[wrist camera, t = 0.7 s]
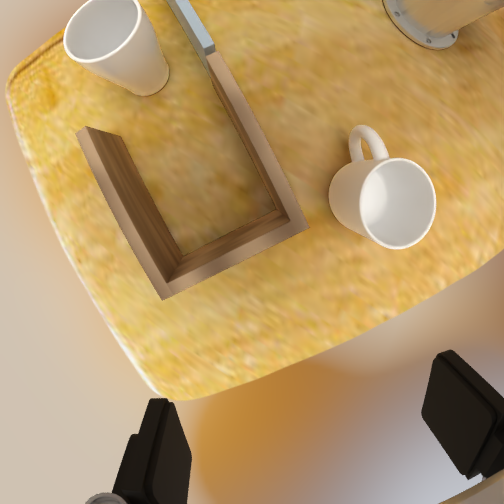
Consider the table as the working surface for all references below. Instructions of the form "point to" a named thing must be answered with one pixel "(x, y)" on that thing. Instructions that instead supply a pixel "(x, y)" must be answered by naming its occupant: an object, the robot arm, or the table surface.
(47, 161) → the table surface
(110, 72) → the drinking glass
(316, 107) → the table surface
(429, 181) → the mug
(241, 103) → the u-shaped wooden frame
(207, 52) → the thin blue-gray plank
